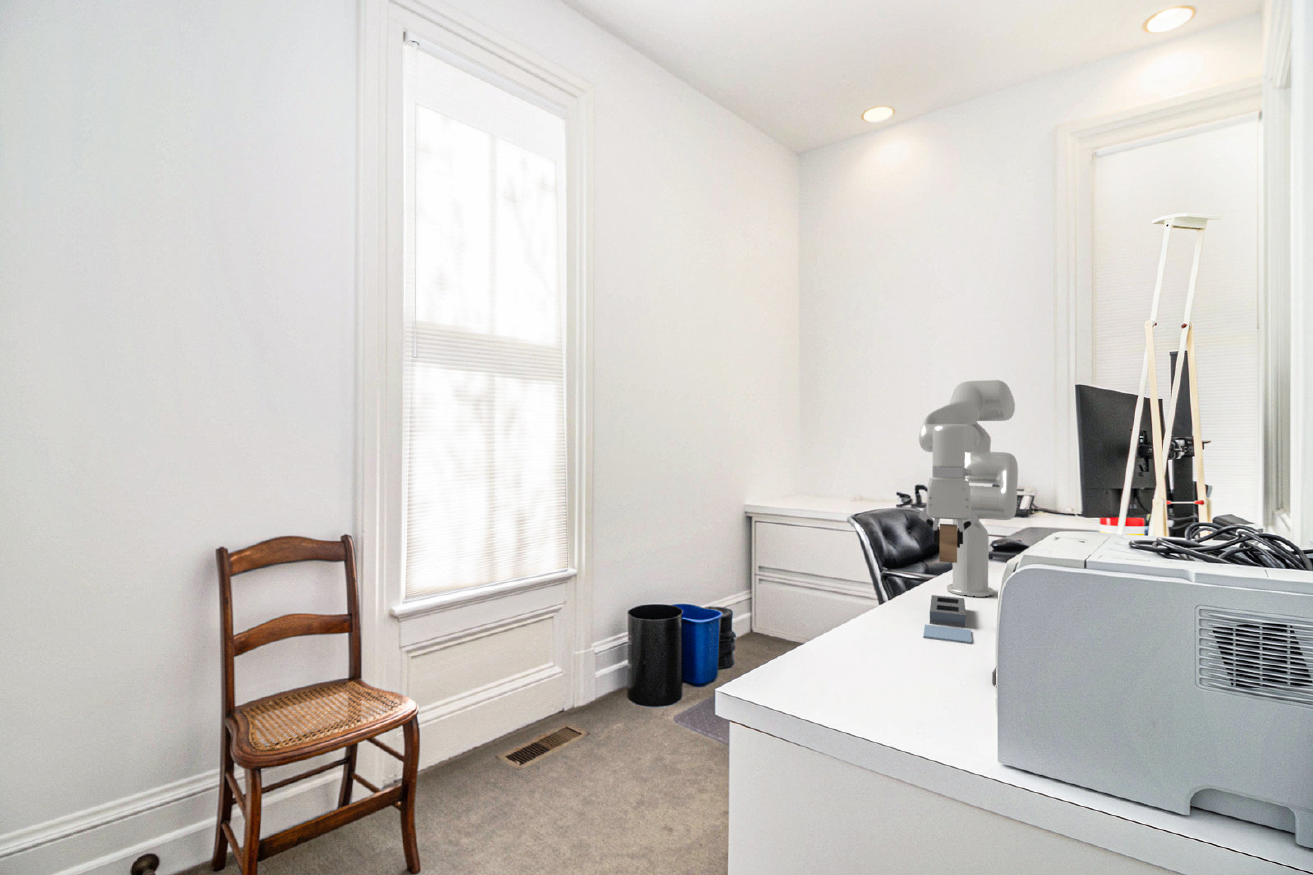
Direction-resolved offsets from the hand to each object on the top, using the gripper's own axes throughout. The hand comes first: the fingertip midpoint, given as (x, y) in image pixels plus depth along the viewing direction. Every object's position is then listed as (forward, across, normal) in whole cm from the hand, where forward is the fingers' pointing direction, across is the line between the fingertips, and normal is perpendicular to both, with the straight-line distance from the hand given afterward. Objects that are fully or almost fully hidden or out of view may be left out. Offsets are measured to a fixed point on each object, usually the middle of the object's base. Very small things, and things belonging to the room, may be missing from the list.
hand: (948, 545), depth 162 cm
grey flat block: (+19, 0, -4) cm, 19 cm away
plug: (+4, 0, 0) cm, 4 cm away
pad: (+19, 0, +13) cm, 23 cm away
